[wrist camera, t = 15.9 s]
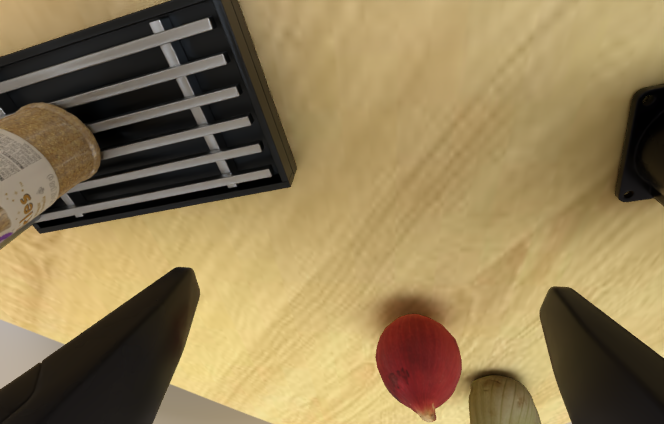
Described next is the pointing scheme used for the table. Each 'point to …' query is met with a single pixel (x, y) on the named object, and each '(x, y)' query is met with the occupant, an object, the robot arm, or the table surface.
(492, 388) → the fennel bulb
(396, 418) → the table surface
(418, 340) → the onion
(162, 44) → the dish rack
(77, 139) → the sprinkles bottle
